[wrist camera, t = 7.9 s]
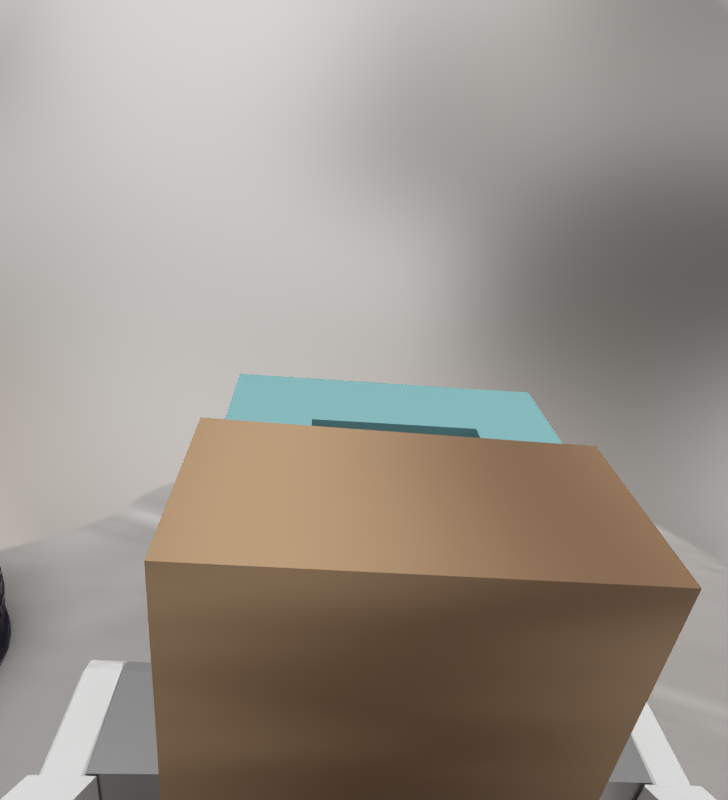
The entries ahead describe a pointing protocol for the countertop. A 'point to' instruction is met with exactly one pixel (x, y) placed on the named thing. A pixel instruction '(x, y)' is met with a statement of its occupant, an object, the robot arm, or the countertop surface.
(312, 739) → the block
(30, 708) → the countertop surface
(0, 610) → the storage jar
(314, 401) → the money box
